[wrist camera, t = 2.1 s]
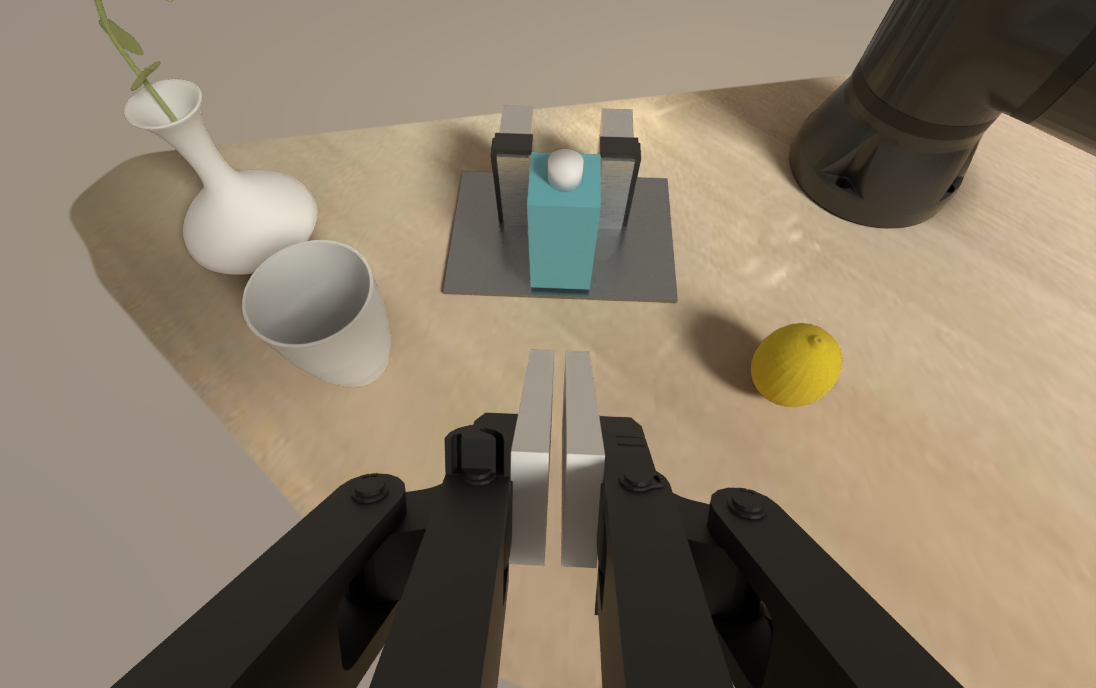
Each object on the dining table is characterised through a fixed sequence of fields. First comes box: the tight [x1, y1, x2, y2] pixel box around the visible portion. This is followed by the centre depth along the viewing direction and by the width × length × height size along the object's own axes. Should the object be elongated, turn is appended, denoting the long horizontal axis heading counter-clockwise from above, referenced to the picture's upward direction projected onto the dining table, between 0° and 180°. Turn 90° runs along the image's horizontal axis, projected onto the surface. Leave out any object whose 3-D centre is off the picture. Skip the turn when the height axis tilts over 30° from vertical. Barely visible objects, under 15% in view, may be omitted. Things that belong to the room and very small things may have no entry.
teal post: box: [527, 149, 601, 290], centre depth 40 cm, size 5×5×12 cm
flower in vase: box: [95, 0, 317, 275], centre depth 37 cm, size 13×11×25 cm
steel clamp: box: [443, 105, 678, 303], centre depth 44 cm, size 20×14×9 cm
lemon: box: [751, 323, 843, 407], centre depth 37 cm, size 6×6×8 cm
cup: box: [242, 240, 391, 388], centre depth 37 cm, size 8×8×10 cm
